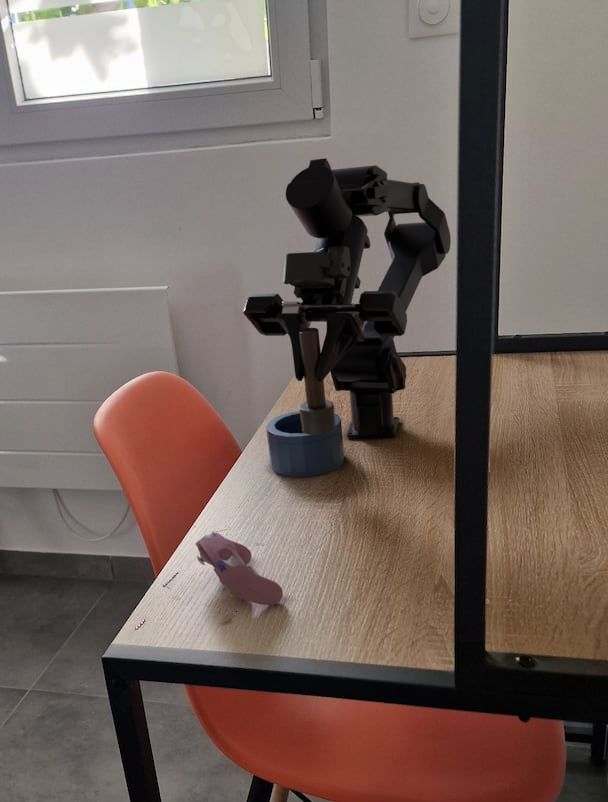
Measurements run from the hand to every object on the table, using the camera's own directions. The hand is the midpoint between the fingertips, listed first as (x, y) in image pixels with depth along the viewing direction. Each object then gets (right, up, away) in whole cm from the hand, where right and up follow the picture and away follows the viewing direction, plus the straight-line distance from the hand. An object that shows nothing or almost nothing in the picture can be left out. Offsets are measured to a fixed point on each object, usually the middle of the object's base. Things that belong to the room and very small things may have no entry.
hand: (308, 379), depth 94 cm
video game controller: (-8, -23, -14) cm, 28 cm away
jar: (+1, -9, +13) cm, 16 cm away
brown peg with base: (+2, -5, +4) cm, 7 cm away
